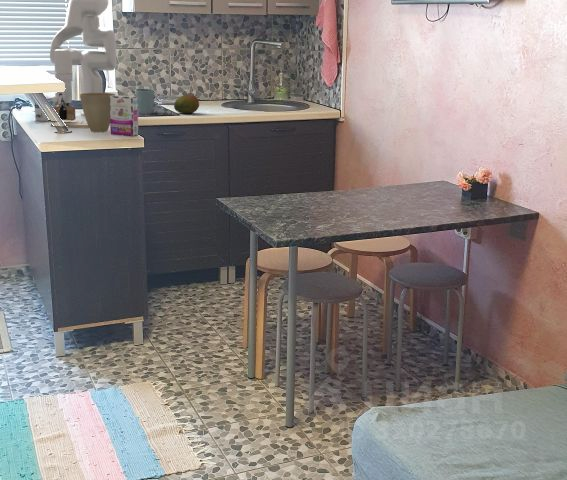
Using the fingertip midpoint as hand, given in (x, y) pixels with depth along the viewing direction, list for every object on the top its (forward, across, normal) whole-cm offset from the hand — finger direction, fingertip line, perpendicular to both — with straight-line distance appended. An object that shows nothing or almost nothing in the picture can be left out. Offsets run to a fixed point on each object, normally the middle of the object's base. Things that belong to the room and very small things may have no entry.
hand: (65, 118), depth 364 cm
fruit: (+3, -61, +44) cm, 76 cm away
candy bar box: (+4, +22, +33) cm, 40 cm away
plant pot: (+3, +15, +20) cm, 25 cm away
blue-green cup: (+3, -57, +24) cm, 62 cm away
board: (+3, 0, +4) cm, 5 cm away
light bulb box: (+3, -14, -14) cm, 20 cm away
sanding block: (+1, 0, 0) cm, 1 cm away
